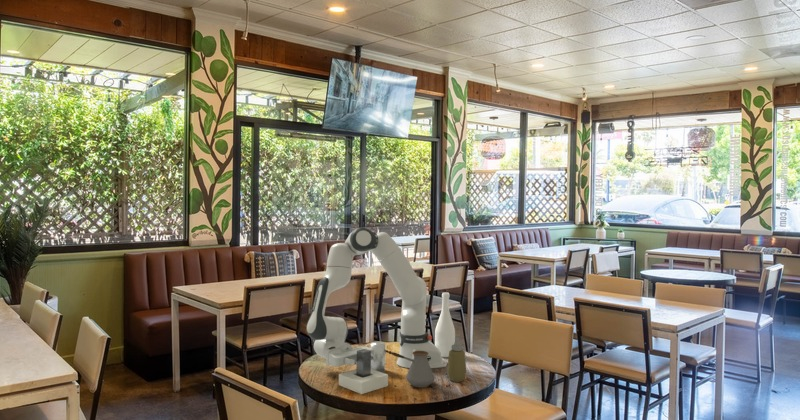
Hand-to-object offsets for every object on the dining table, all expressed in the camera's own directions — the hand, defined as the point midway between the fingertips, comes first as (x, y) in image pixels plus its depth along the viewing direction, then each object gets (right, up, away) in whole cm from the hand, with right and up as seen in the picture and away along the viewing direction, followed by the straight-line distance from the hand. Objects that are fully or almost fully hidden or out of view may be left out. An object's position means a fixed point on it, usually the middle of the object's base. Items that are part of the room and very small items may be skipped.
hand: (364, 360), depth 224 cm
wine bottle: (+36, -10, +45) cm, 58 cm away
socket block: (0, -10, 0) cm, 10 cm away
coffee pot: (+18, -11, +2) cm, 21 cm away
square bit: (0, -10, +1) cm, 10 cm away
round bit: (+4, -10, +20) cm, 22 cm away
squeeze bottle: (+38, -11, +9) cm, 40 cm away
